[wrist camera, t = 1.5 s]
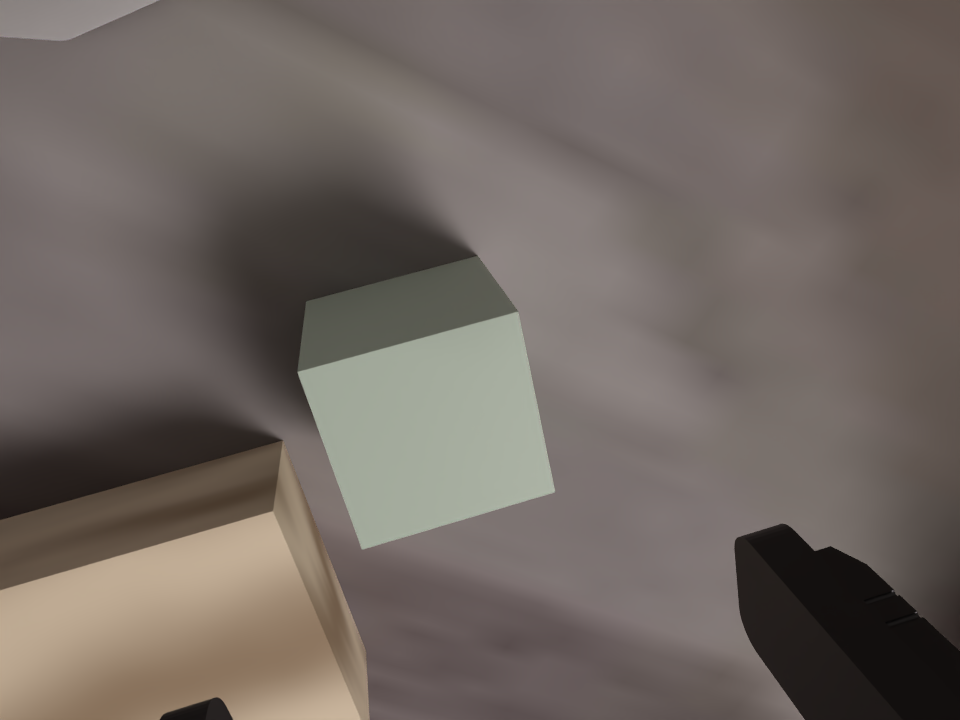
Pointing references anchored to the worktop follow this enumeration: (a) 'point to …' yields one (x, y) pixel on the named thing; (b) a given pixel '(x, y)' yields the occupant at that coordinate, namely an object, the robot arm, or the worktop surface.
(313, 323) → the sage cube
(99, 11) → the medicine bottle
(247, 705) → the maple box
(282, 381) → the worktop surface
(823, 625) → the robot arm
